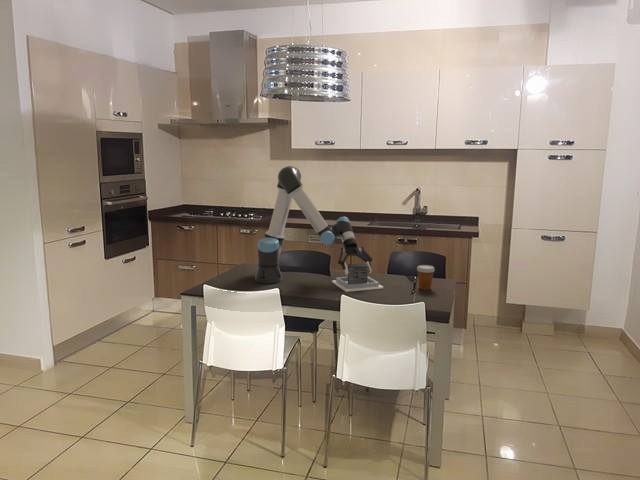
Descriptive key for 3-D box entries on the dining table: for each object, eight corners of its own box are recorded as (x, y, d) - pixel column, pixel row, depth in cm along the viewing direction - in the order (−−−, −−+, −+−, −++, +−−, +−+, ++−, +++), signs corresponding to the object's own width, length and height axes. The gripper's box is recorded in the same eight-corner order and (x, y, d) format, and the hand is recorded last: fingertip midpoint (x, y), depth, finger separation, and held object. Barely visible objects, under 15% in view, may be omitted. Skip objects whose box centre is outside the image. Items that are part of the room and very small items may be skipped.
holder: (345, 291, 268) (345, 286, 267) (331, 282, 286) (332, 277, 285) (383, 288, 275) (383, 283, 274) (367, 279, 293) (367, 274, 293)
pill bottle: (423, 291, 271) (424, 269, 268) (412, 287, 279) (413, 265, 277) (437, 289, 275) (438, 267, 273) (425, 285, 283) (427, 264, 281)
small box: (366, 282, 283) (367, 264, 281) (367, 285, 277) (368, 266, 275) (347, 281, 283) (348, 263, 281) (348, 285, 277) (348, 266, 275)
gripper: (366, 244, 296) (377, 275, 285) (326, 246, 287) (335, 278, 276) (371, 236, 290) (382, 268, 279) (330, 238, 281) (339, 271, 270)
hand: (359, 273), depth 277 cm, fingers open, 13 cm apart
